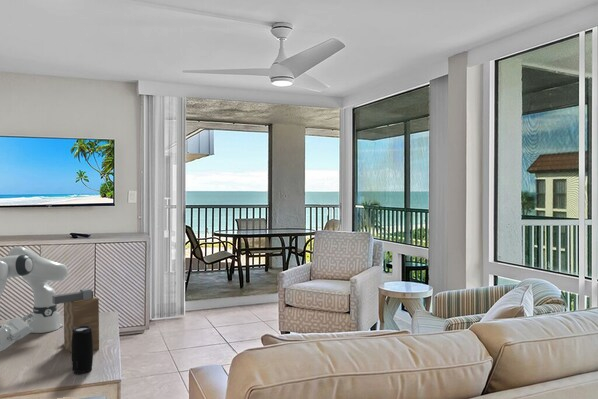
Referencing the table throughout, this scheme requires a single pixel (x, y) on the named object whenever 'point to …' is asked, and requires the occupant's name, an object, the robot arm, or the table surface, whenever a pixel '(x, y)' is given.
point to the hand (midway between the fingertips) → (34, 316)
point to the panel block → (81, 319)
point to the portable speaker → (82, 349)
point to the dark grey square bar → (73, 296)
